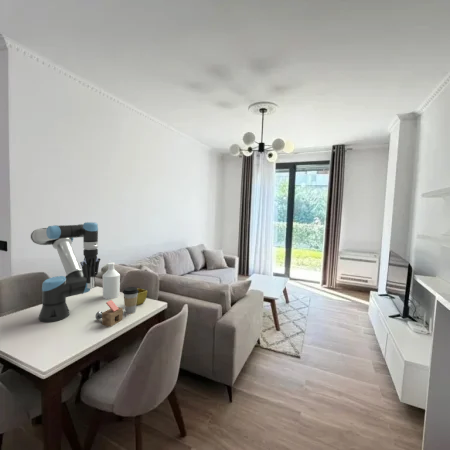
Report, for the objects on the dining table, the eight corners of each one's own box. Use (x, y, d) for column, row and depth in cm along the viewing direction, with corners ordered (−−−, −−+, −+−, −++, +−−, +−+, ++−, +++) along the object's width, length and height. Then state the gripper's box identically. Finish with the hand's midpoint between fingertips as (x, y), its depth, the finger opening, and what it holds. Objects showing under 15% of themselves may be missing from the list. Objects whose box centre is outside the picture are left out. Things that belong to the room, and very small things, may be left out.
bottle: (100, 299, 184) (100, 265, 182) (104, 293, 196) (104, 261, 194) (118, 298, 186) (118, 264, 185) (121, 293, 198) (121, 261, 196)
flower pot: (147, 303, 180) (147, 290, 179) (137, 306, 173) (137, 293, 172) (139, 300, 185) (139, 288, 184) (129, 303, 177) (129, 291, 177)
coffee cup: (133, 315, 159) (133, 292, 158) (119, 313, 160) (119, 290, 160) (141, 309, 168) (141, 287, 167) (128, 308, 170) (128, 286, 169)
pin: (95, 320, 150) (95, 313, 149) (101, 317, 154) (101, 310, 154) (111, 323, 147) (111, 315, 146) (116, 320, 151) (116, 312, 150)
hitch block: (102, 325, 145) (102, 312, 145) (114, 317, 155) (114, 306, 154) (110, 326, 143) (110, 314, 143) (122, 319, 153) (122, 308, 152)
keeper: (105, 303, 147) (106, 302, 147) (110, 300, 151) (111, 299, 151) (113, 312, 146) (114, 311, 146) (118, 309, 150) (119, 308, 150)
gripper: (86, 250, 143) (86, 292, 144) (104, 247, 156) (104, 285, 158) (75, 249, 145) (75, 290, 146) (94, 246, 158) (94, 284, 160)
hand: (90, 287), depth 152 cm, fingers closed
